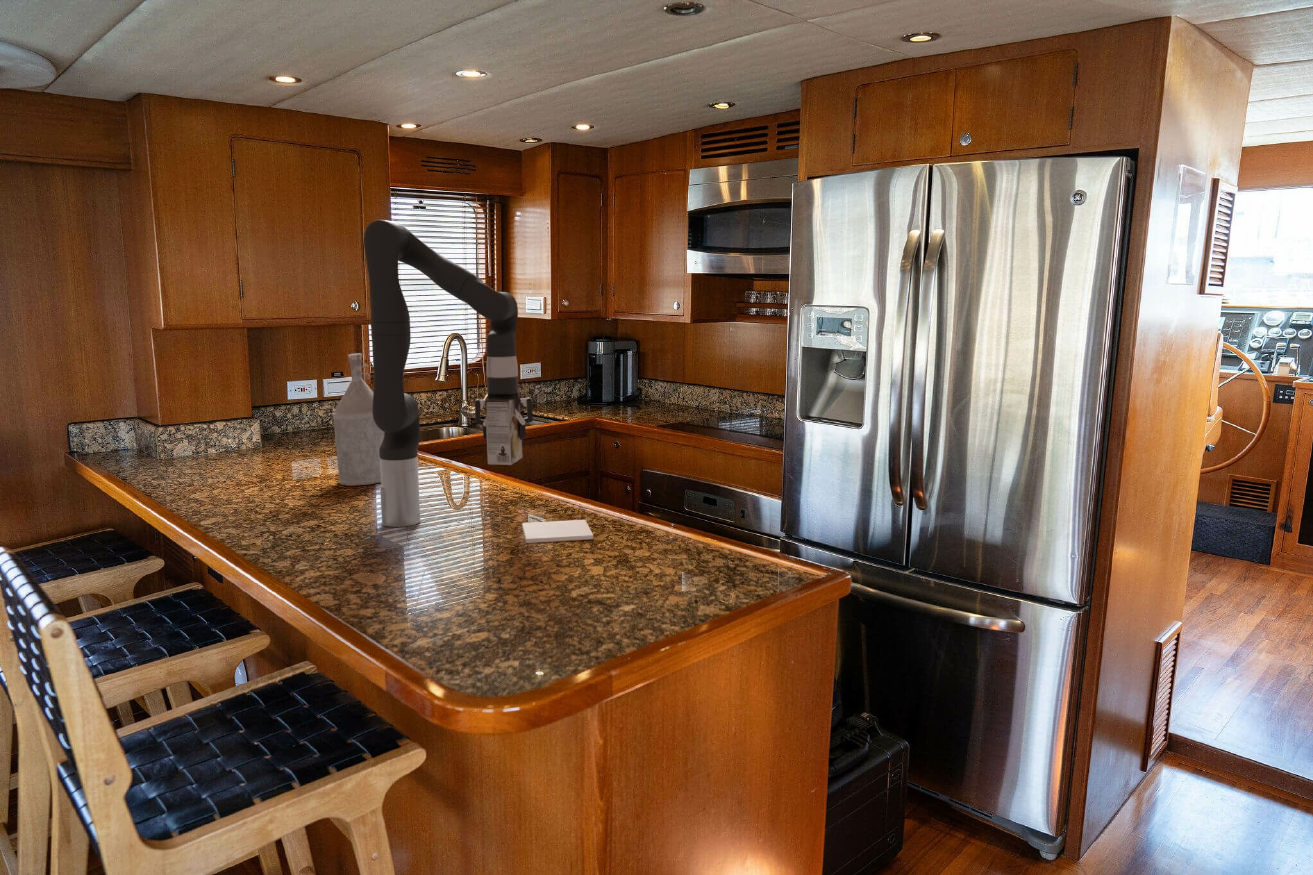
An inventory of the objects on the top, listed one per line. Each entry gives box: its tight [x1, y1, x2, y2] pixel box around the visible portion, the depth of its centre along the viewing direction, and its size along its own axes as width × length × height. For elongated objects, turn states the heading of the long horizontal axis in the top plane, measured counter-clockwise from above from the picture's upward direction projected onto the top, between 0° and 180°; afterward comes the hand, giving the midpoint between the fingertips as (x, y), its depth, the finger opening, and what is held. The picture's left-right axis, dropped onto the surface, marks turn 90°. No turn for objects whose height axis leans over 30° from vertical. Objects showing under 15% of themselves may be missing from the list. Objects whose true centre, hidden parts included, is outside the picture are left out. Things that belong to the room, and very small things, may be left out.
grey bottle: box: [332, 352, 384, 487], centre depth 263 cm, size 13×17×40 cm
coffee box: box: [484, 394, 523, 466], centre depth 212 cm, size 9×6×16 cm
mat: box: [521, 519, 594, 544], centre depth 212 cm, size 16×14×1 cm
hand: (504, 440), depth 213 cm, fingers closed on coffee box, 8 cm apart
